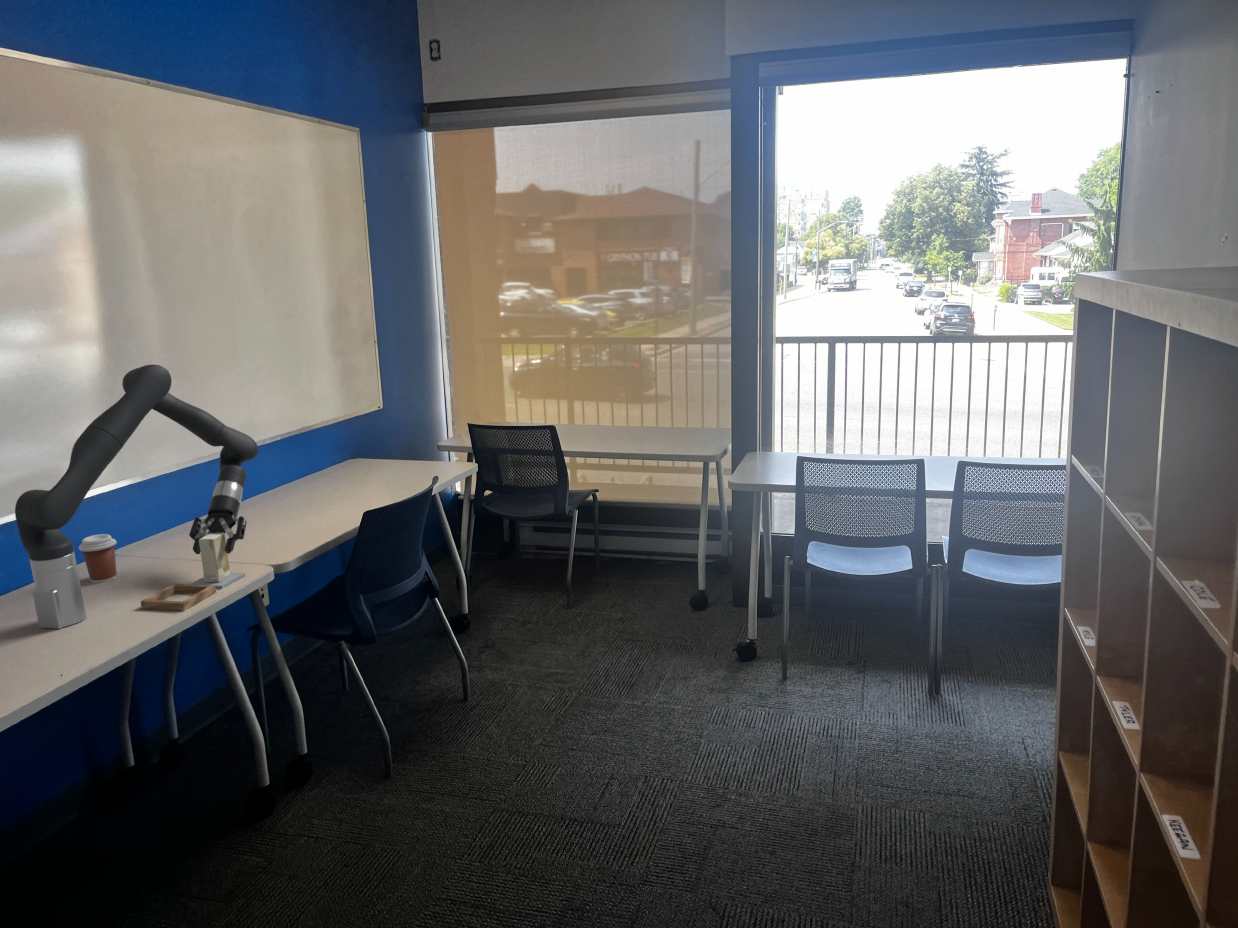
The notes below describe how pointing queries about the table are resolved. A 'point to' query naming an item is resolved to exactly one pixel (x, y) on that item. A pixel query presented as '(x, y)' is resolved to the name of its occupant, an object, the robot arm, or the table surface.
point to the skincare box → (214, 557)
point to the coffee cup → (99, 557)
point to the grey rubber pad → (222, 583)
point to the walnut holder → (158, 602)
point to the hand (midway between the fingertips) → (212, 552)
